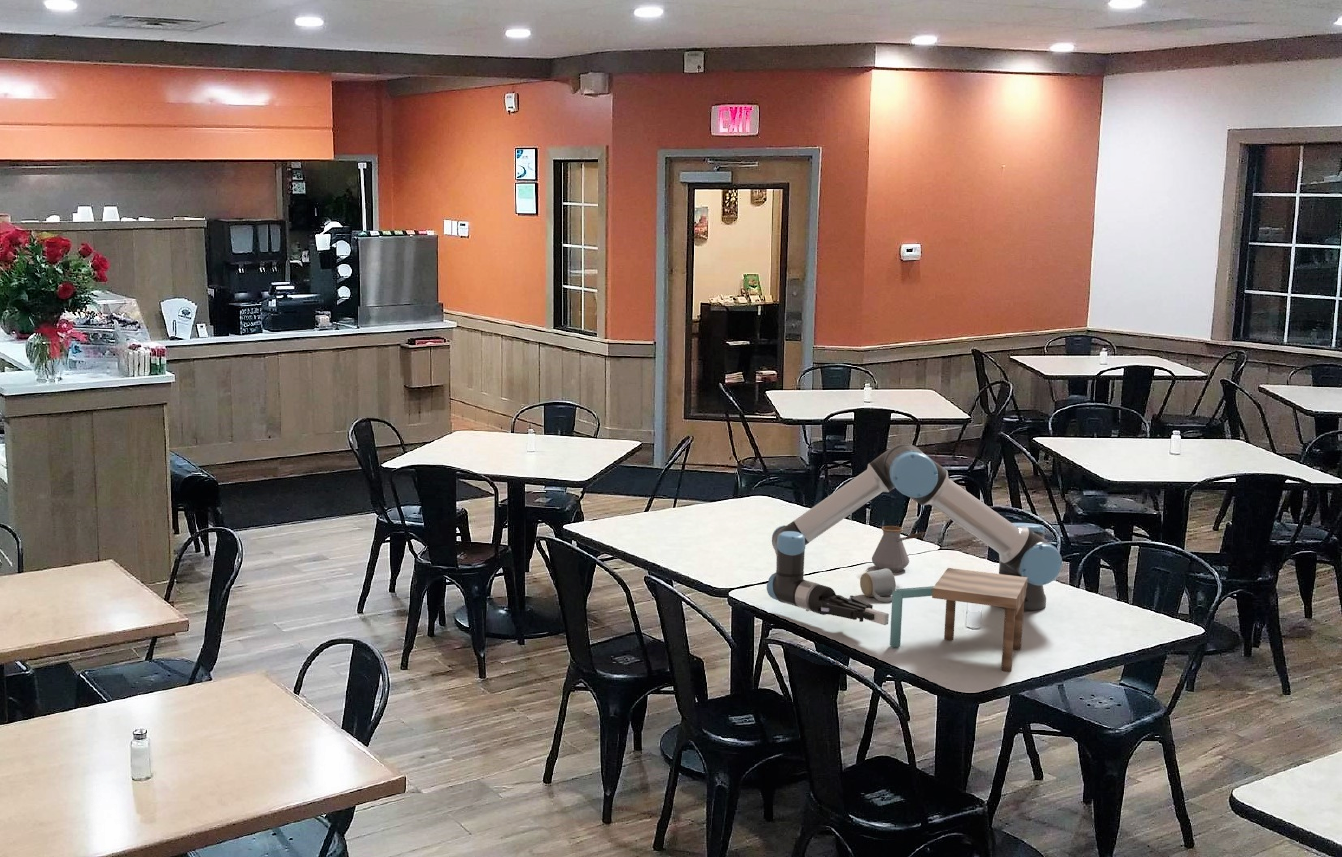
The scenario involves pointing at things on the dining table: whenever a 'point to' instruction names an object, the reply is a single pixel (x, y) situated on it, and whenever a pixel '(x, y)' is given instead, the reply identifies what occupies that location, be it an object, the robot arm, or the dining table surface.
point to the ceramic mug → (878, 584)
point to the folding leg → (897, 609)
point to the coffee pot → (892, 549)
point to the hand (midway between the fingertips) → (886, 619)
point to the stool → (985, 602)
